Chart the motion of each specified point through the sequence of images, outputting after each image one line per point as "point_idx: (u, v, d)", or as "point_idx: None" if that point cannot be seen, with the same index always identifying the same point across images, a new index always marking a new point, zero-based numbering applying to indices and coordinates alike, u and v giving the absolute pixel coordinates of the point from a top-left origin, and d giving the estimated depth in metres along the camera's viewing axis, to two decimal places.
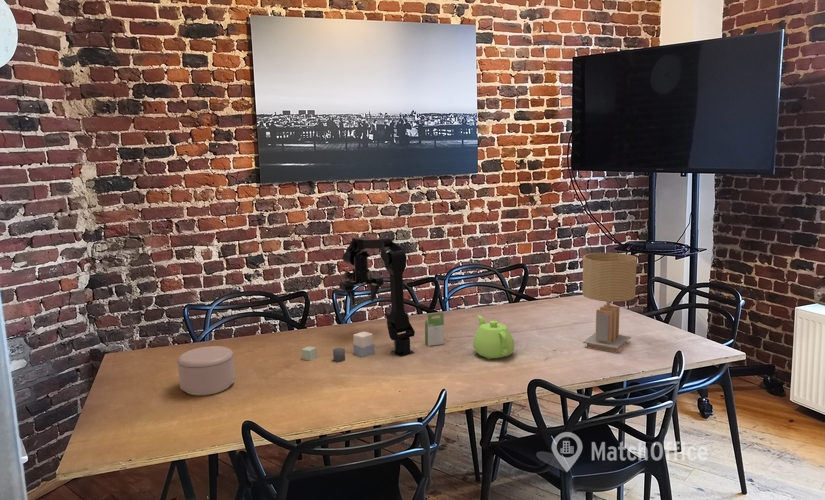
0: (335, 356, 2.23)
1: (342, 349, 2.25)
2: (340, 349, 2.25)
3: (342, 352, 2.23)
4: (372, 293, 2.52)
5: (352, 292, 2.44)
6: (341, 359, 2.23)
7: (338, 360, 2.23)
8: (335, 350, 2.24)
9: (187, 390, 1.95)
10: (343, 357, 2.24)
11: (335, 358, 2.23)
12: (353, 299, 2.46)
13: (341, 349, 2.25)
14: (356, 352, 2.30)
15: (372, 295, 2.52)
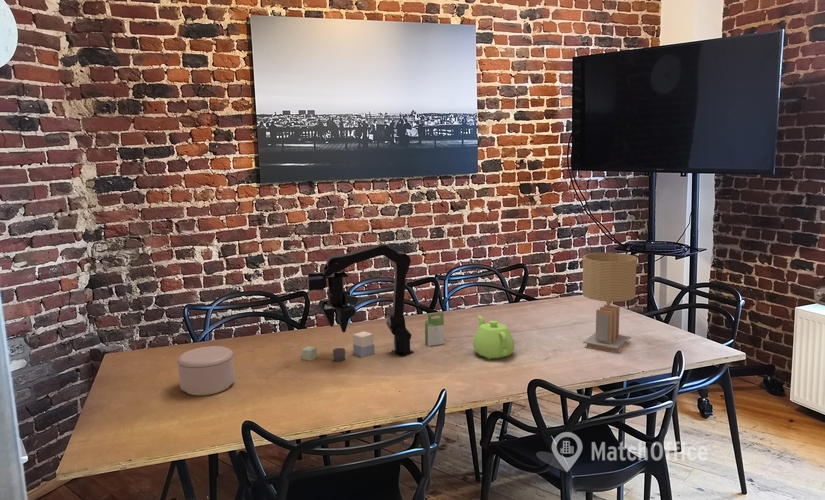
0: (335, 356, 2.23)
1: (342, 349, 2.25)
2: (340, 349, 2.25)
3: (342, 352, 2.23)
4: None
5: (323, 311, 2.26)
6: (341, 359, 2.23)
7: (338, 360, 2.23)
8: (335, 350, 2.24)
9: (187, 390, 1.95)
10: (343, 357, 2.24)
11: (335, 358, 2.23)
12: (327, 320, 2.26)
13: (341, 349, 2.25)
14: (356, 352, 2.30)
15: None
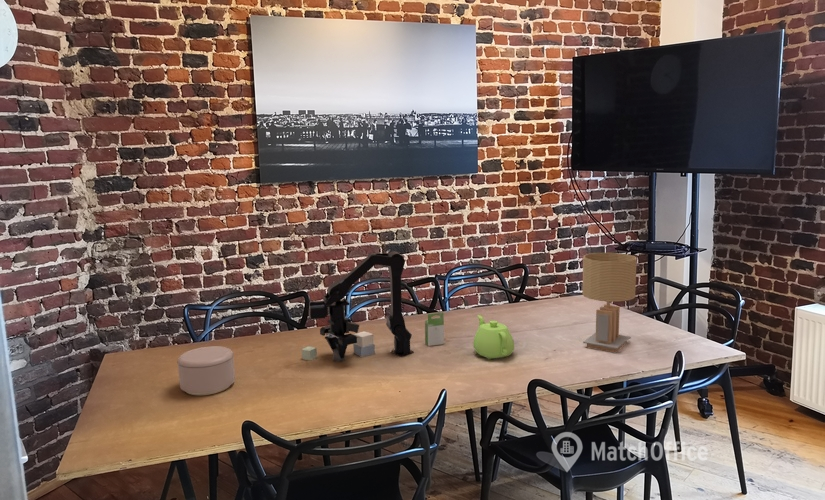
0: (335, 356, 2.23)
1: None
2: None
3: None
4: None
5: (327, 340, 2.25)
6: (341, 359, 2.23)
7: (338, 360, 2.23)
8: (335, 350, 2.24)
9: (187, 390, 1.95)
10: None
11: (335, 358, 2.23)
12: (331, 348, 2.26)
13: None
14: (356, 352, 2.30)
15: None
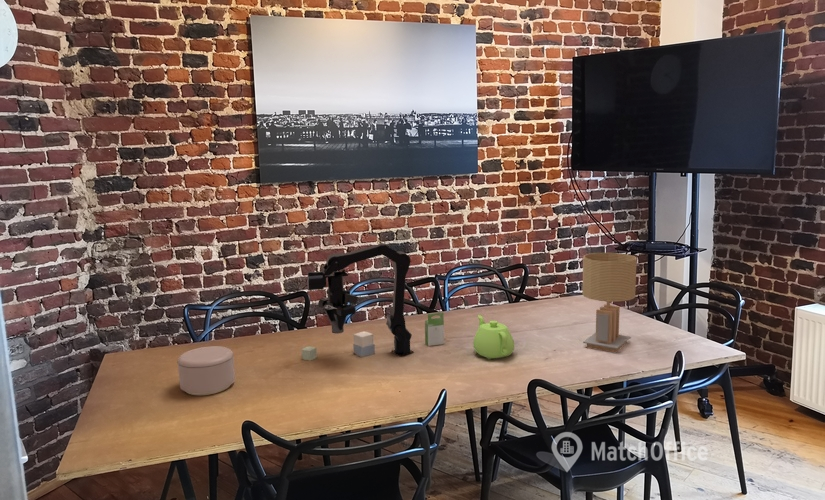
0: (333, 327, 2.21)
1: None
2: None
3: None
4: None
5: (325, 312, 2.24)
6: (339, 330, 2.21)
7: (336, 331, 2.21)
8: (333, 321, 2.22)
9: (187, 390, 1.95)
10: None
11: (333, 329, 2.21)
12: (330, 320, 2.24)
13: None
14: (356, 352, 2.30)
15: None
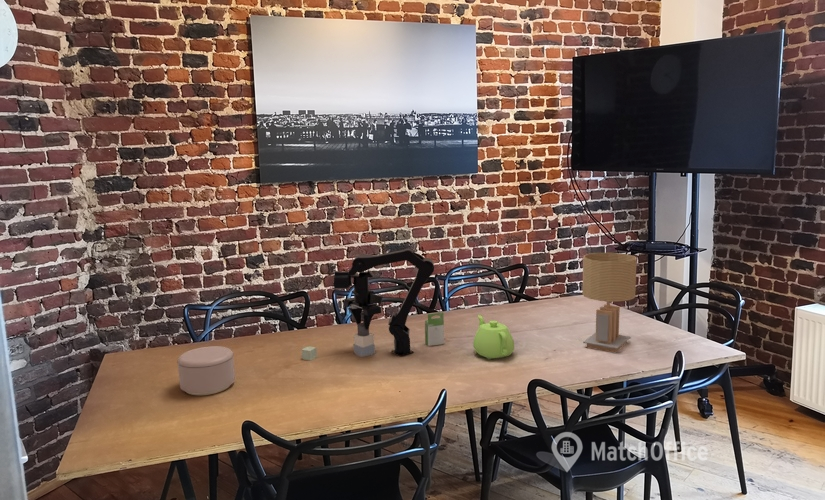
0: (359, 330, 2.28)
1: None
2: None
3: None
4: None
5: (350, 311, 2.31)
6: (365, 333, 2.28)
7: (362, 334, 2.28)
8: (359, 325, 2.29)
9: (187, 390, 1.95)
10: (367, 331, 2.29)
11: (359, 332, 2.28)
12: (354, 319, 2.31)
13: None
14: (356, 352, 2.30)
15: None
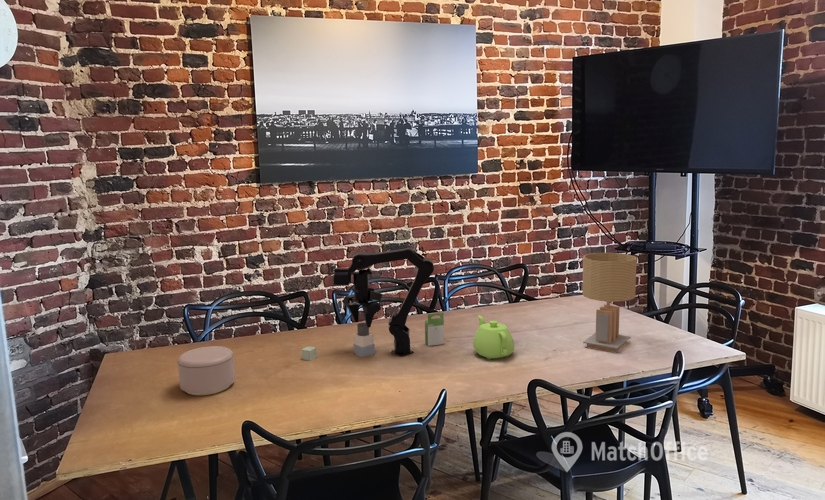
0: (359, 330, 2.28)
1: None
2: (364, 324, 2.30)
3: (366, 326, 2.28)
4: None
5: (348, 307, 2.32)
6: (365, 333, 2.28)
7: (362, 334, 2.28)
8: (359, 324, 2.29)
9: (187, 390, 1.95)
10: (367, 331, 2.29)
11: (359, 332, 2.28)
12: (352, 315, 2.32)
13: (365, 324, 2.30)
14: (356, 352, 2.30)
15: None
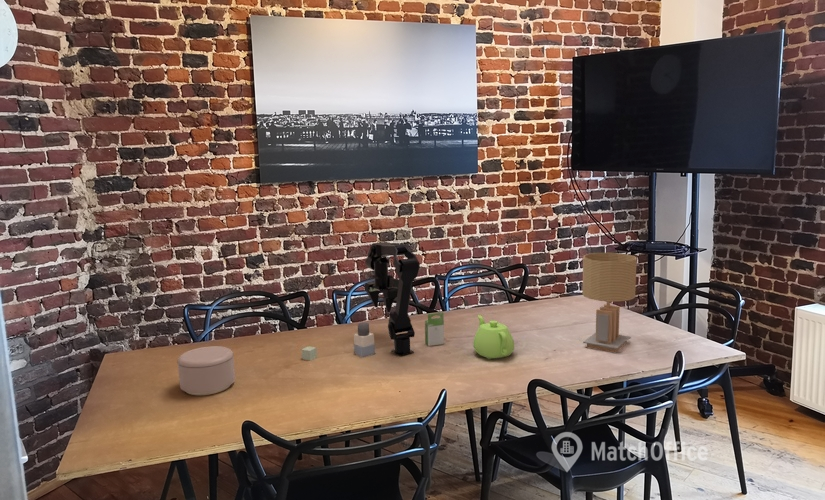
0: (360, 330, 2.28)
1: (366, 323, 2.30)
2: (364, 324, 2.30)
3: (367, 326, 2.28)
4: None
5: (368, 293, 2.47)
6: (366, 333, 2.28)
7: (362, 334, 2.28)
8: (360, 324, 2.29)
9: (187, 390, 1.95)
10: (367, 331, 2.29)
11: (360, 332, 2.28)
12: (372, 301, 2.48)
13: (365, 324, 2.30)
14: (356, 352, 2.30)
15: None
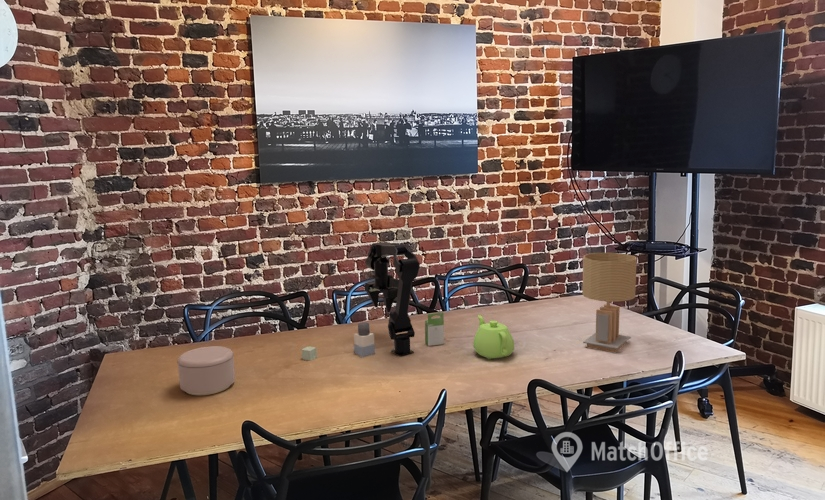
0: (360, 330, 2.28)
1: (366, 323, 2.30)
2: (365, 323, 2.30)
3: (367, 326, 2.28)
4: None
5: (368, 293, 2.47)
6: (366, 333, 2.28)
7: (363, 334, 2.28)
8: (360, 324, 2.29)
9: (187, 390, 1.95)
10: (368, 331, 2.29)
11: (360, 332, 2.28)
12: (372, 301, 2.48)
13: (366, 323, 2.30)
14: (356, 352, 2.31)
15: None
